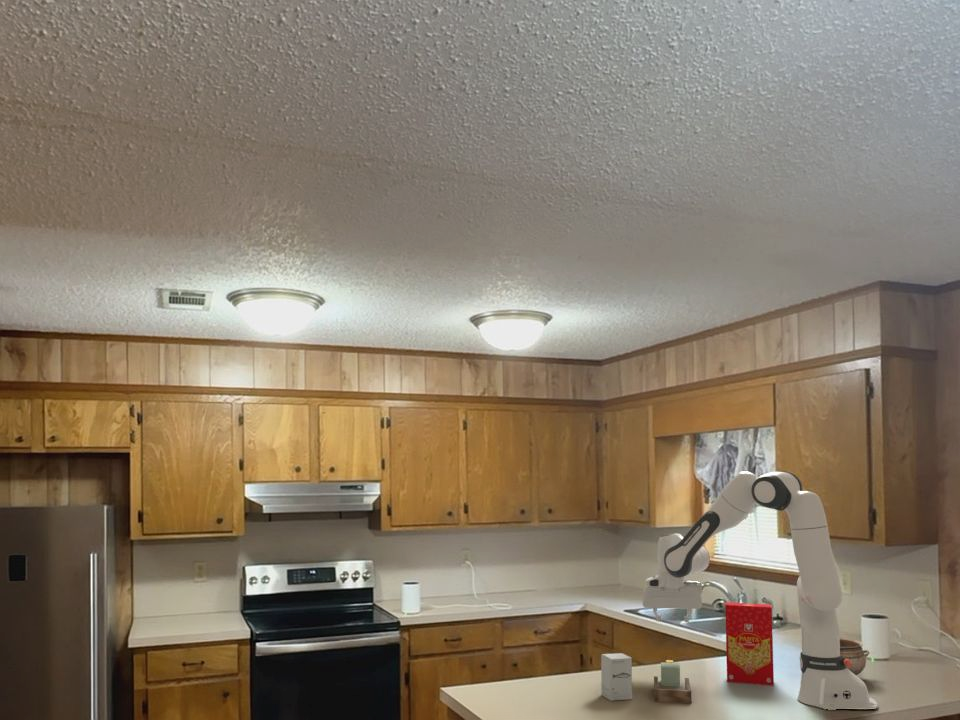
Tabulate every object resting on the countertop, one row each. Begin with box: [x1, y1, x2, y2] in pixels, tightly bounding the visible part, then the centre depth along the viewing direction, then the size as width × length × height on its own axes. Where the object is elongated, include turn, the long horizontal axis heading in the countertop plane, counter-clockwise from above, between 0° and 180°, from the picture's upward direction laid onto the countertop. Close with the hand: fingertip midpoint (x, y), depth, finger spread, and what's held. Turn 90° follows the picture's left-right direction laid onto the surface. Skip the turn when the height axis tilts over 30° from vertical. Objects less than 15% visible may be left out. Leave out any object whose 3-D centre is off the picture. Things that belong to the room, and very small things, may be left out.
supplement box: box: [600, 652, 633, 702], centre depth 275 cm, size 7×7×13 cm
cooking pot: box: [839, 636, 870, 676], centre depth 299 cm, size 25×19×12 cm
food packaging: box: [725, 601, 775, 687], centre depth 295 cm, size 15×5×25 cm, turn 73°
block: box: [660, 659, 681, 687], centre depth 297 cm, size 6×17×6 cm, turn 169°
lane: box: [653, 676, 692, 704], centre depth 278 cm, size 11×16×4 cm
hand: (672, 621), depth 306 cm, fingers open, 8 cm apart
